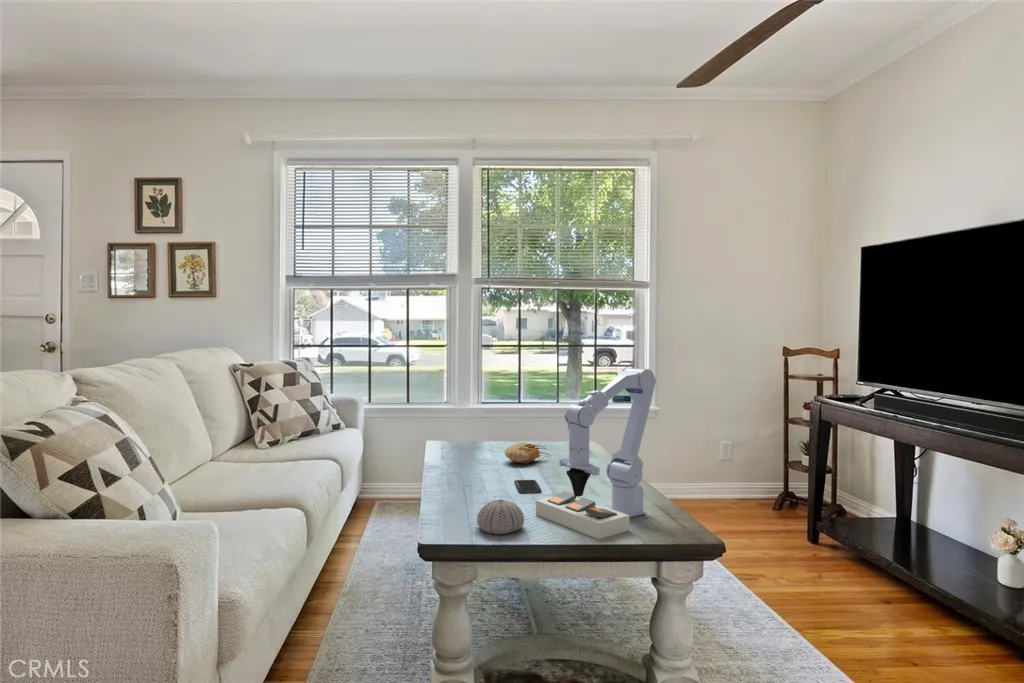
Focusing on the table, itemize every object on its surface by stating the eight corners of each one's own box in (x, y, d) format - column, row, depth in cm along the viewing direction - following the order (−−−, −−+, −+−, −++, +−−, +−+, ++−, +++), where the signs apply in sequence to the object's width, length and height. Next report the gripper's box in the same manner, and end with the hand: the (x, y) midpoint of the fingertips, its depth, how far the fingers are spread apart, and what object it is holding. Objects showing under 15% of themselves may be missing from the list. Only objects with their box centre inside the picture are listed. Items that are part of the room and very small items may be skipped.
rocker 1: (565, 495, 179) (564, 490, 179) (576, 499, 175) (575, 494, 175) (548, 504, 175) (547, 499, 175) (559, 508, 171) (558, 503, 171)
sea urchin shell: (476, 537, 156) (476, 507, 155) (476, 521, 169) (476, 493, 169) (526, 537, 156) (526, 507, 156) (522, 521, 170) (522, 493, 170)
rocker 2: (602, 514, 166) (603, 508, 167) (615, 518, 162) (616, 512, 163) (585, 513, 162) (586, 507, 162) (598, 518, 158) (599, 512, 158)
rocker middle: (583, 502, 173) (582, 497, 173) (595, 506, 169) (595, 501, 169) (566, 511, 169) (565, 505, 169) (578, 515, 165) (577, 510, 165)
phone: (519, 491, 198) (514, 480, 213) (519, 494, 198) (514, 483, 213) (542, 490, 199) (535, 479, 214) (542, 494, 199) (535, 482, 214)
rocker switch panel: (565, 507, 183) (565, 493, 183) (629, 530, 162) (629, 515, 162) (535, 514, 176) (535, 500, 175) (598, 539, 155) (598, 523, 155)
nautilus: (547, 458, 256) (558, 468, 241) (499, 457, 250) (507, 467, 236) (548, 440, 255) (559, 449, 241) (500, 439, 250) (509, 448, 235)
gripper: (551, 445, 169) (551, 492, 169) (586, 453, 157) (585, 504, 158) (569, 442, 173) (569, 488, 174) (605, 450, 162) (604, 500, 162)
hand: (578, 495), depth 166 cm, fingers closed
